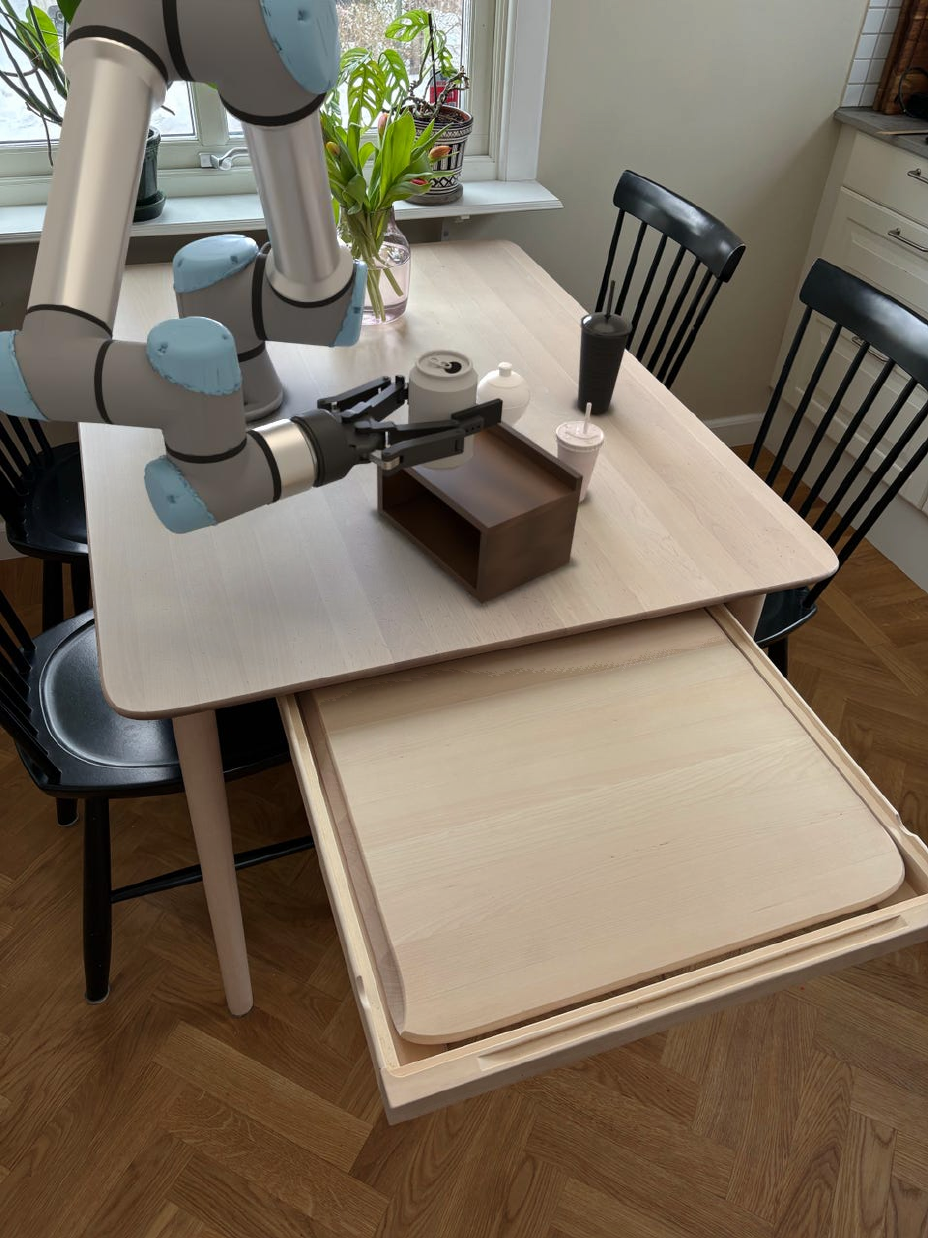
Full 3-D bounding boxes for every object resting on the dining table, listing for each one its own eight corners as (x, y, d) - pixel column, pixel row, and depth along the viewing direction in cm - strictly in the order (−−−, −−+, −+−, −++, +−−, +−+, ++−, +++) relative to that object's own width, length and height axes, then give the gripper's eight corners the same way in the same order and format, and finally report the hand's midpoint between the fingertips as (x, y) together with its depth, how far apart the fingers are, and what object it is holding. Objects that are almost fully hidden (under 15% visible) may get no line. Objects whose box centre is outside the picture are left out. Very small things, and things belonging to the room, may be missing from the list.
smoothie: (592, 511, 128) (608, 419, 119) (545, 504, 129) (557, 412, 120) (596, 485, 133) (611, 394, 124) (550, 479, 134) (562, 387, 124)
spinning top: (520, 457, 137) (528, 381, 129) (468, 449, 138) (473, 373, 130) (528, 431, 143) (537, 356, 135) (478, 423, 144) (483, 348, 136)
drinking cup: (583, 423, 145) (603, 294, 132) (559, 399, 151) (576, 273, 137) (626, 414, 148) (650, 288, 135) (601, 391, 153) (622, 267, 140)
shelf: (461, 479, 132) (466, 396, 124) (569, 562, 120) (583, 475, 111) (377, 512, 125) (376, 426, 117) (482, 603, 113) (489, 514, 104)
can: (465, 479, 107) (471, 381, 99) (400, 468, 108) (401, 371, 100) (478, 445, 113) (485, 350, 105) (416, 435, 114) (418, 340, 106)
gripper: (255, 441, 106) (423, 387, 117) (355, 533, 94) (532, 464, 105) (248, 379, 101) (425, 329, 112) (354, 468, 89) (539, 403, 100)
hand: (476, 394), depth 109 cm, fingers closed on can, 7 cm apart
